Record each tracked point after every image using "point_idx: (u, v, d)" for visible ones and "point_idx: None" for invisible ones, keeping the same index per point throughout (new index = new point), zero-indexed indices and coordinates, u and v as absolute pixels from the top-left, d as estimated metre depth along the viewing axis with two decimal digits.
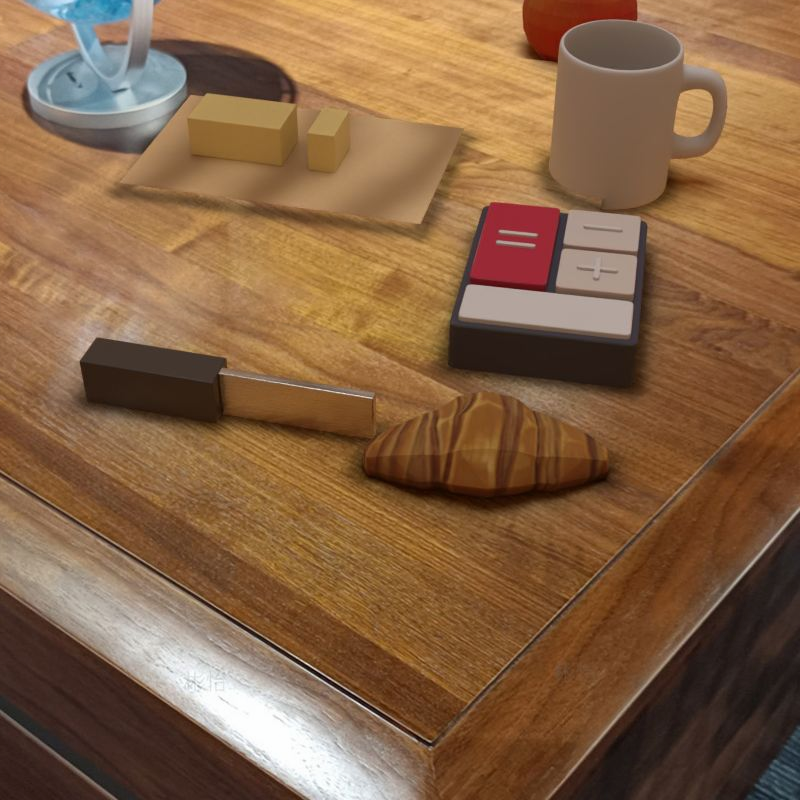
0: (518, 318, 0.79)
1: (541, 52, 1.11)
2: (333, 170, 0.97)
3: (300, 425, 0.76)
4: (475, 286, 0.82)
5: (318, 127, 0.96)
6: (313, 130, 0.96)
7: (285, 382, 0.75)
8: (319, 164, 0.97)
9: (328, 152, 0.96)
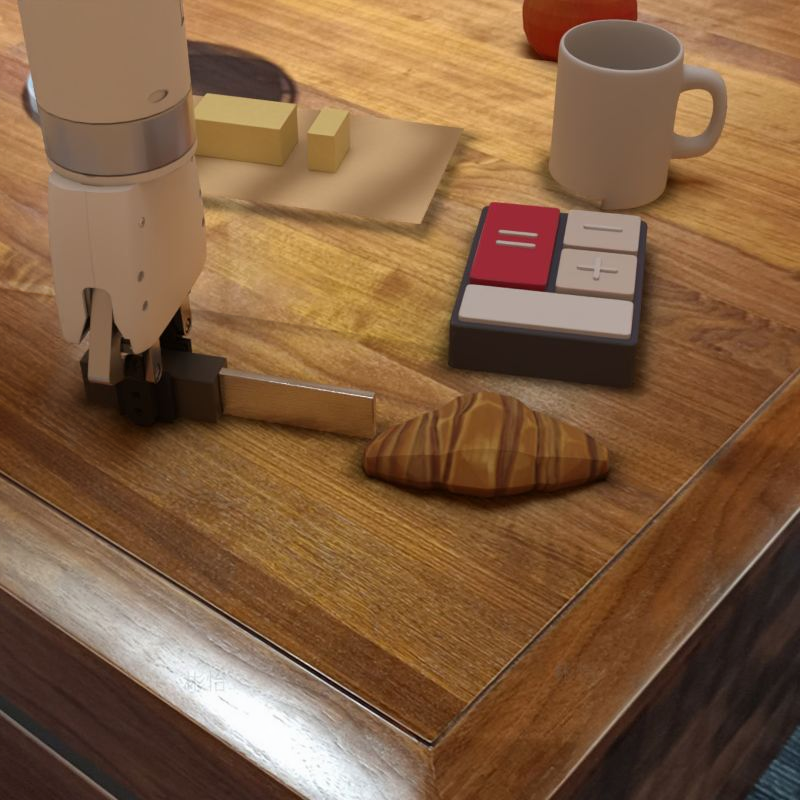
0: (518, 318, 0.79)
1: (541, 52, 1.11)
2: (333, 170, 0.97)
3: (300, 425, 0.76)
4: (475, 286, 0.82)
5: (318, 127, 0.96)
6: (313, 130, 0.96)
7: (285, 382, 0.75)
8: (319, 164, 0.97)
9: (328, 152, 0.96)
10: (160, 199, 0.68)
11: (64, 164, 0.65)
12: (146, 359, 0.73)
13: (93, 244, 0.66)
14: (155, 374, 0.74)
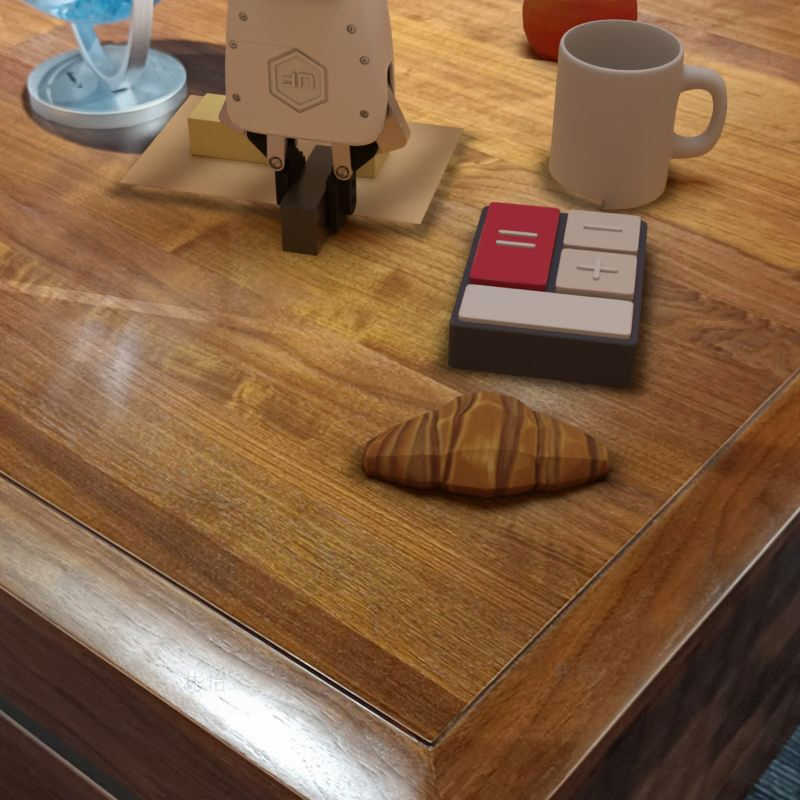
0: (518, 318, 0.79)
1: (541, 52, 1.11)
2: (373, 175, 0.96)
3: None
4: (475, 286, 0.82)
5: None
6: None
7: None
8: (359, 169, 0.96)
9: None
10: None
11: None
12: None
13: (387, 24, 0.82)
14: None
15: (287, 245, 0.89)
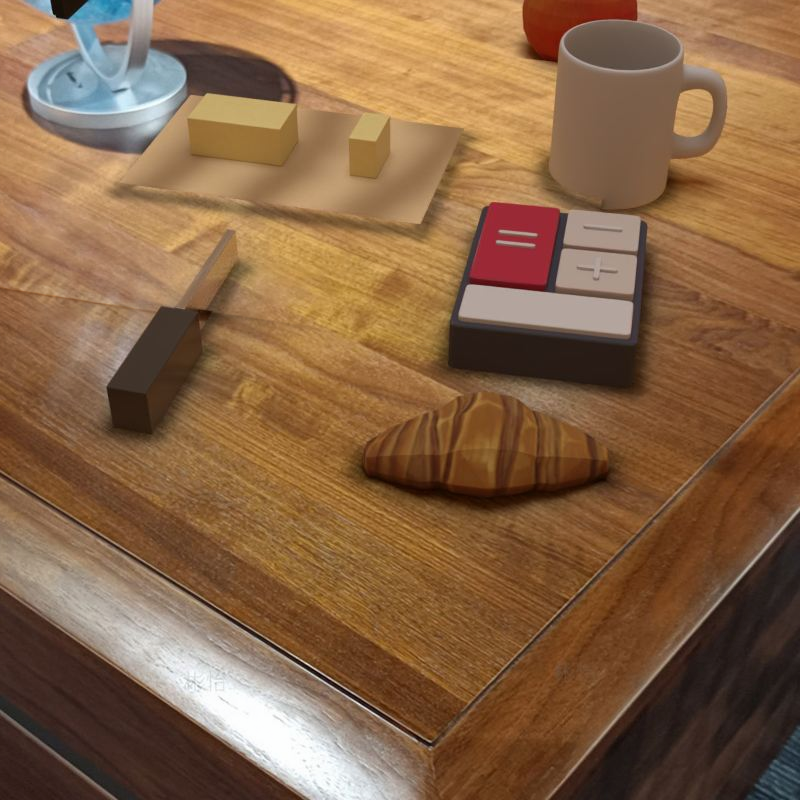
0: (518, 318, 0.79)
1: (541, 52, 1.11)
2: (374, 175, 0.96)
3: None
4: (475, 286, 0.82)
5: (360, 132, 0.95)
6: (355, 135, 0.95)
7: (205, 272, 0.83)
8: (360, 169, 0.96)
9: (370, 157, 0.95)
10: None
11: None
12: None
13: None
14: None
15: None
